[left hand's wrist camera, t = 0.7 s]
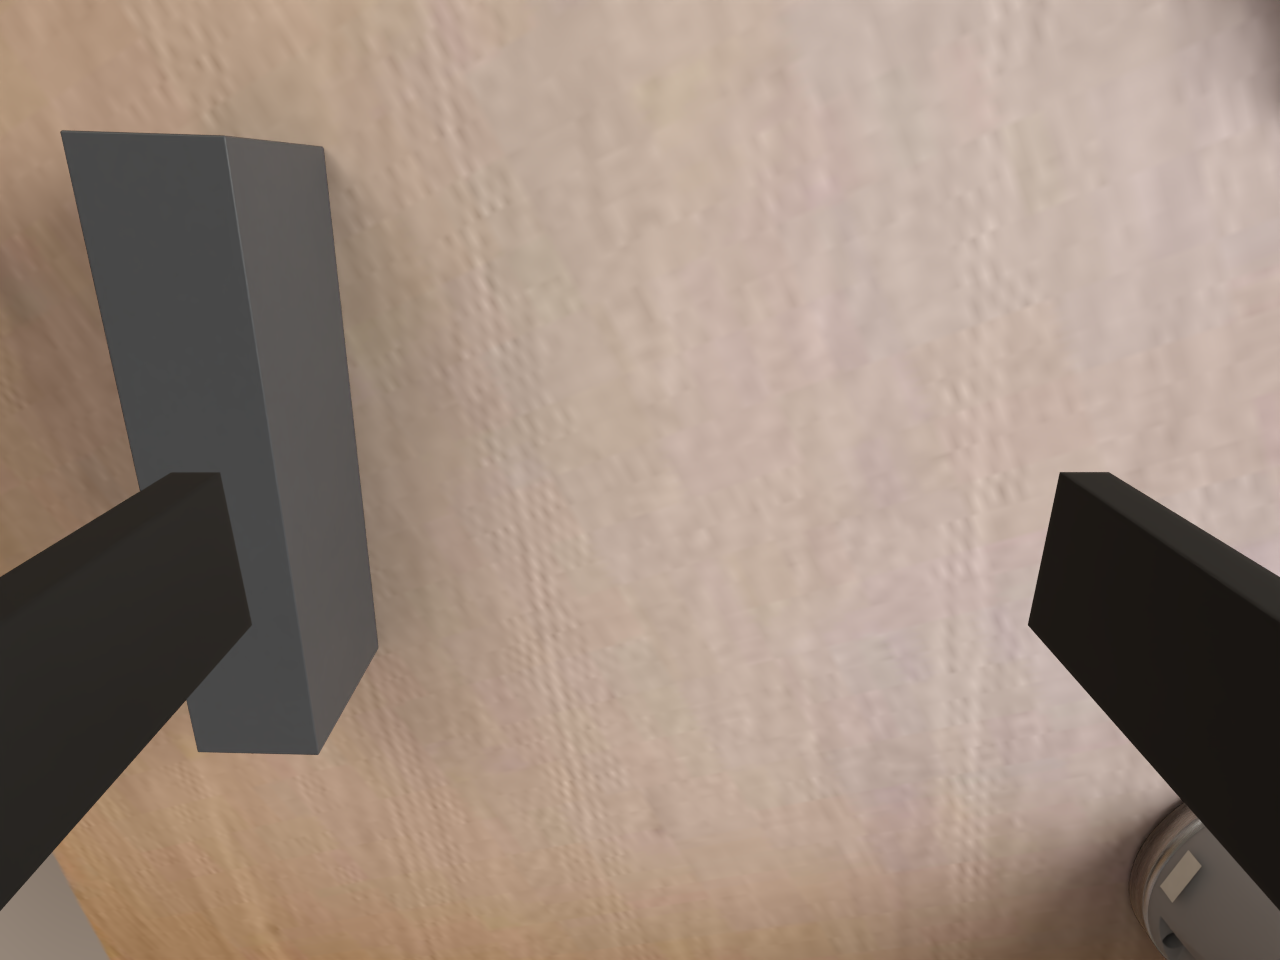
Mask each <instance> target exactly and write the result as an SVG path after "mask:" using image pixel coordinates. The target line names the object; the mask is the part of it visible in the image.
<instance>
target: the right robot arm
mask: <svg viewBox="0 0 1280 960" xmlns="http://www.w3.org/2000/svg"><path fill="white" fill-rule="evenodd" d="M1129 894H1130V901H1131V905H1132V908H1133V911H1134V913H1135V916H1136V917H1137V919H1138V921H1139V922H1140V924H1141V925H1142V927H1143V928H1144V930H1145V931H1146V933H1147V934H1148V936H1149V937H1150V939H1151V940H1152V942H1153V943H1154V945H1155V946H1156V948H1157V949H1158V950H1159V951H1160V953H1161V954H1162V955H1163V956H1164V957H1165V958H1166V959H1167V960H1280V911H1279V910H1278V908H1277V907H1276V906H1275V905H1274V904H1273V903H1272V902H1271V900H1270V899H1269V898H1268V897H1267V896H1266V895H1265V894H1264V892H1263V891H1262V890H1261V889H1260V888H1259V887H1258V886H1257V885H1256V883H1255V882H1254V881H1253V880H1252V879H1251V878H1250V877H1249V875H1248V874H1247V873H1246V872H1245V871H1244V870H1243V869H1242V868H1241V866H1240V865H1239V864H1238V863H1237V862H1236V861H1235V860H1234V858H1233V857H1232V856H1231V855H1230V854H1229V853H1228V852H1227V850H1226V849H1225V848H1224V847H1223V846H1222V845H1221V844H1220V843H1219V841H1218V840H1217V839H1216V838H1215V837H1214V836H1213V835H1212V833H1211V832H1210V831H1209V830H1208V829H1207V828H1206V827H1205V826H1204V824H1203V823H1202V822H1201V821H1200V820H1199V819H1198V818H1197V816H1196V815H1195V814H1194V813H1193V812H1192V811H1191V810H1190V808H1189V807H1188V806H1187V805H1186V804H1185V803H1183V804H1181V805H1180V806H1178V807H1177V808H1176V809H1175V810H1174V811H1172V812H1171V813H1170V814H1169V815H1168V816H1167V817H1166V818H1165V819H1164V820H1163V821H1162V822H1161V823H1160V824H1158V826H1157V827H1156V828H1155V829H1154V830H1153V831H1152V833H1151V834H1150V835H1149V837H1148V838H1147V839H1146V841H1145V842H1144V844H1143V846H1142V847H1141V849H1140V851H1139V853H1138V855H1137V857H1136V859H1135V862H1134V864H1133V868H1132V871H1131V876H1130V883H1129Z"/></svg>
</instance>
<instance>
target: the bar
mask: <svg viewBox="0 0 1280 960" xmlns="http://www.w3.org/2000/svg"><path fill="white" fill-rule="evenodd" d="M61 137H62V141H63V146H64V150H65V155H66V159H67V164H68V168H69V173H70V177H71V182H72V186H73V191H74V195H75V200H76V204H77V209H78V213H79V218H80V222H81V227H82V231H83V236H84V240H85V245H86V249H87V254H88V258H89V263H90V267H91V272H92V276H93V281H94V285H95V290H96V294H97V299H98V303H99V308H100V312H101V317H102V321H103V326H104V330H105V335H106V339H107V344H108V348H109V353H110V357H111V362H112V366H113V371H114V375H115V380H116V384H117V389H118V393H119V398H120V402H121V407H122V412H123V416H124V421H125V425H126V430H127V434H128V439H129V443H130V448H131V452H132V457H133V461H134V466H135V470H136V475H137V479H138V484H139V488H140V491H142V490H143V489H145V488H146V487H148V486H150V485H151V484H153V483H155V482H156V481H158V480H159V479H161V478H163V477H164V476H166V475H168V474H169V473H171V472H220V474H221V479H222V484H223V488H224V493H225V498H226V503H227V508H228V512H229V517H230V522H231V527H232V531H233V536H234V541H235V546H236V551H237V555H238V560H239V565H240V570H241V574H242V579H243V584H244V589H245V594H246V598H247V603H248V608H249V613H250V617H251V622H252V626H251V627H250V628H249V629H248V630H247V631H246V633H245V634H244V635H243V636H242V637H241V638H240V639H239V640H238V642H237V643H236V644H235V645H234V646H233V647H232V648H231V650H230V651H229V652H228V653H227V654H226V655H225V656H224V657H223V659H222V660H221V661H220V662H219V663H218V664H217V665H216V667H215V668H214V669H213V670H212V671H211V672H210V673H209V675H208V676H207V677H206V678H205V679H204V680H203V681H202V682H201V684H200V685H199V686H198V687H197V688H196V689H195V690H194V692H193V693H192V694H191V695H190V696H189V697H188V698H187V699H186V700H187V705H188V709H189V714H190V718H191V723H192V727H193V732H194V736H195V741H196V745H197V750H198V752H219V753H261V754H303V755H318V754H319V753H320V751H321V749H322V747H323V746H324V744H325V742H326V740H327V738H328V737H329V735H330V733H331V731H332V730H333V728H334V726H335V724H336V722H337V721H338V719H339V717H340V715H341V714H342V712H343V710H344V708H345V706H346V705H347V703H348V701H349V699H350V698H351V696H352V694H353V692H354V690H355V689H356V687H357V685H358V683H359V682H360V680H361V678H362V676H363V674H364V673H365V671H366V669H367V667H368V666H369V664H370V662H371V660H372V658H373V657H374V655H375V653H376V651H377V650H378V640H377V631H376V622H375V613H374V604H373V595H372V586H371V576H370V567H369V558H368V549H367V540H366V531H365V522H364V513H363V504H362V494H361V485H360V476H359V467H358V458H357V449H356V440H355V431H354V421H353V412H352V403H351V394H350V385H349V376H348V367H347V358H346V349H345V339H344V330H343V321H342V312H341V303H340V294H339V285H338V276H337V267H336V257H335V248H334V239H333V230H332V221H331V212H330V203H329V194H328V184H327V175H326V166H325V157H324V148H323V147H321V146H312V145H303V144H294V143H285V142H277V141H268V140H259V139H250V138H241V137H232V136H221V135H190V134H159V133H128V132H97V131H66V130H62V131H61Z"/></svg>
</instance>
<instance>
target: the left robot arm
mask: <svg viewBox="0 0 1280 960" xmlns="http://www.w3.org/2000/svg"><path fill="white" fill-rule="evenodd" d="M251 626H252V622H251V617H250V613H249V608H248V603H247V598H246V594H245V589H244V584H243V579H242V574H241V570H240V565H239V560H238V555H237V551H236V546H235V541H234V536H233V531H232V527H231V522H230V517H229V512H228V508H227V503H226V498H225V493H224V488H223V484H222V479H221V474H220V472H171V473H169V474H168V475H166V476H164V477H163V478H161V479H159V480H158V481H156V482H155V483H153V484H151V485H150V486H148V487H146V488H145V489H143V490H142V491H140V492H138V493H137V494H135V495H133V496H132V497H130V498H128V499H127V500H125V501H124V502H122V503H120V504H119V505H117V506H115V507H114V508H112V509H111V510H109V511H107V512H106V513H104V514H102V515H101V516H99V517H97V518H96V519H94V520H93V521H91V522H89V523H88V524H86V525H84V526H83V527H81V528H80V529H78V530H76V531H75V532H73V533H71V534H70V535H68V536H67V537H65V538H63V539H62V540H60V541H58V542H57V543H55V544H53V545H52V546H50V547H49V548H47V549H45V550H44V551H42V552H40V553H39V554H37V555H36V556H34V557H32V558H31V559H29V560H27V561H26V562H24V563H23V564H21V565H19V566H18V567H16V568H14V569H13V570H11V571H9V572H8V573H6V574H5V575H3V576H1V577H0V911H1V910H2V908H3V907H4V906H5V905H6V904H7V903H8V902H9V900H10V899H11V898H12V897H13V896H14V895H15V894H16V892H17V891H18V890H19V889H20V888H21V887H22V886H23V885H24V883H25V882H26V881H27V880H28V879H29V878H30V877H31V875H32V874H33V873H34V872H35V871H36V870H37V869H38V867H39V866H40V865H41V864H42V863H43V862H44V861H45V860H46V858H47V857H48V856H49V855H50V854H51V853H52V852H53V850H54V849H55V848H56V847H57V846H58V845H59V844H60V843H61V841H62V840H63V839H64V838H65V837H66V836H67V835H68V833H69V832H70V831H71V830H72V829H73V828H74V827H75V826H76V824H77V823H78V822H79V821H80V820H81V819H82V818H83V816H84V815H85V814H86V813H87V812H88V811H89V810H90V808H91V807H92V806H93V805H94V804H95V803H96V802H97V801H98V799H99V798H100V797H101V796H102V795H103V794H104V793H105V791H106V790H107V789H108V788H109V787H110V786H111V785H112V783H113V782H114V781H115V780H116V779H117V778H118V777H119V776H120V774H121V773H122V772H123V771H124V770H125V769H126V768H127V766H128V765H129V764H130V763H131V762H132V761H133V760H134V759H135V757H136V756H137V755H138V754H139V753H140V752H141V751H142V749H143V748H144V747H145V746H146V745H147V744H148V743H149V741H150V740H151V739H152V738H153V737H154V736H155V735H156V734H157V732H158V731H159V730H160V729H161V728H162V727H163V726H164V724H165V723H166V722H167V721H168V720H169V719H170V718H171V717H172V715H173V714H174V713H175V712H176V711H177V710H178V709H179V707H180V706H181V705H182V704H183V703H184V702H185V701H186V699H187V698H188V697H189V696H190V695H191V694H192V693H193V692H194V690H195V689H196V688H197V687H198V686H199V685H200V684H201V682H202V681H203V680H204V679H205V678H206V677H207V676H208V675H209V673H210V672H211V671H212V670H213V669H214V668H215V667H216V665H217V664H218V663H219V662H220V661H221V660H222V659H223V657H224V656H225V655H226V654H227V653H228V652H229V651H230V650H231V648H232V647H233V646H234V645H235V644H236V643H237V642H238V640H239V639H240V638H241V637H242V636H243V635H244V634H245V633H246V631H247V630H248V629H249V628H250V627H251ZM1028 626H1029V627H1030V628H1031V629H1032V630H1033V631H1034V633H1035V634H1036V635H1037V636H1038V637H1039V638H1040V639H1041V640H1042V642H1043V643H1044V644H1045V645H1046V646H1047V647H1048V648H1049V650H1050V651H1051V652H1052V653H1053V654H1054V655H1055V656H1056V657H1057V659H1058V660H1059V661H1060V662H1061V663H1062V664H1063V665H1064V667H1065V668H1066V669H1067V670H1068V671H1069V672H1070V673H1071V675H1072V676H1073V677H1074V678H1075V679H1076V680H1077V681H1078V682H1079V684H1080V685H1081V686H1082V687H1083V688H1084V689H1085V690H1086V692H1087V693H1088V694H1089V695H1090V696H1091V697H1092V698H1093V699H1094V701H1095V702H1096V703H1097V704H1098V705H1099V706H1100V707H1101V709H1102V710H1103V711H1104V712H1105V713H1106V714H1107V715H1108V717H1109V718H1110V719H1111V720H1112V721H1113V722H1114V723H1115V724H1116V726H1117V727H1118V728H1119V729H1120V730H1121V731H1122V732H1123V734H1124V735H1125V736H1126V737H1127V738H1128V739H1129V740H1130V741H1131V743H1132V744H1133V745H1134V746H1135V747H1136V748H1137V749H1138V751H1139V752H1140V753H1141V754H1142V755H1143V756H1144V757H1145V759H1146V760H1147V761H1148V762H1149V763H1150V764H1151V765H1152V766H1153V768H1154V769H1155V770H1156V771H1157V772H1158V773H1159V774H1160V776H1161V777H1162V778H1163V779H1164V780H1165V781H1166V782H1167V783H1168V785H1169V786H1170V787H1171V788H1172V789H1173V790H1174V791H1175V793H1176V794H1177V795H1178V796H1179V797H1180V798H1181V799H1182V801H1183V802H1184V803H1185V804H1186V805H1187V806H1188V807H1189V808H1190V810H1191V811H1192V812H1193V813H1194V814H1195V815H1196V816H1197V818H1198V819H1199V820H1200V821H1201V822H1202V823H1203V824H1204V826H1205V827H1206V828H1207V829H1208V830H1209V831H1210V832H1211V833H1212V835H1213V836H1214V837H1215V838H1216V839H1217V840H1218V841H1219V843H1220V844H1221V845H1222V846H1223V847H1224V848H1225V849H1226V850H1227V852H1228V853H1229V854H1230V855H1231V856H1232V857H1233V858H1234V860H1235V861H1236V862H1237V863H1238V864H1239V865H1240V866H1241V868H1242V869H1243V870H1244V871H1245V872H1246V873H1247V874H1248V875H1249V877H1250V878H1251V879H1252V880H1253V881H1254V882H1255V883H1256V885H1257V886H1258V887H1259V888H1260V889H1261V890H1262V891H1263V892H1264V894H1265V895H1266V896H1267V897H1268V898H1269V899H1270V900H1271V902H1272V903H1273V904H1274V905H1275V906H1276V907H1277V908H1278V910H1279V911H1280V577H1279V576H1277V575H1275V574H1274V573H1272V572H1271V571H1269V570H1267V569H1266V568H1264V567H1262V566H1261V565H1259V564H1257V563H1256V562H1254V561H1253V560H1251V559H1249V558H1248V557H1246V556H1244V555H1243V554H1241V553H1240V552H1238V551H1236V550H1235V549H1233V548H1231V547H1230V546H1228V545H1227V544H1225V543H1223V542H1222V541H1220V540H1218V539H1217V538H1215V537H1213V536H1212V535H1210V534H1209V533H1207V532H1205V531H1204V530H1202V529H1200V528H1199V527H1197V526H1196V525H1194V524H1192V523H1191V522H1189V521H1187V520H1186V519H1184V518H1183V517H1181V516H1179V515H1178V514H1176V513H1174V512H1173V511H1171V510H1169V509H1168V508H1166V507H1165V506H1163V505H1161V504H1160V503H1158V502H1156V501H1155V500H1153V499H1152V498H1150V497H1148V496H1147V495H1145V494H1143V493H1142V492H1140V491H1138V490H1137V489H1135V488H1134V487H1132V486H1130V485H1129V484H1127V483H1125V482H1124V481H1122V480H1121V479H1119V478H1117V477H1116V476H1114V475H1112V474H1111V473H1109V472H1060V474H1059V479H1058V484H1057V488H1056V493H1055V498H1054V503H1053V508H1052V512H1051V517H1050V522H1049V527H1048V531H1047V536H1046V541H1045V546H1044V551H1043V555H1042V560H1041V565H1040V570H1039V574H1038V579H1037V584H1036V589H1035V594H1034V598H1033V603H1032V608H1031V613H1030V617H1029V622H1028Z"/></svg>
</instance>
